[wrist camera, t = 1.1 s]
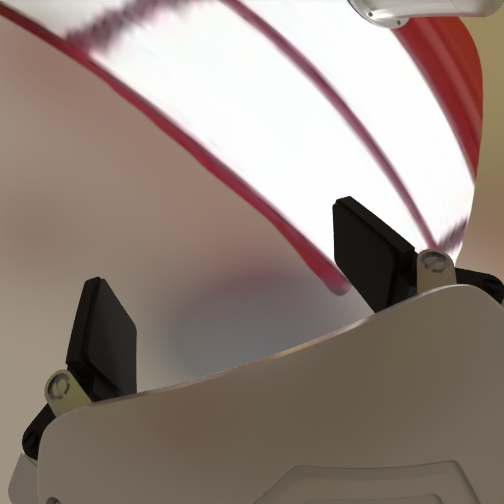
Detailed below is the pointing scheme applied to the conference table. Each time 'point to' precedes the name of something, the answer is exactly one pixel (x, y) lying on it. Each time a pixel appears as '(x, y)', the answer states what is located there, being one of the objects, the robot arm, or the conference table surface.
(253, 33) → the conference table surface
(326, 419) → the robot arm
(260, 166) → the conference table surface
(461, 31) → the conference table surface
